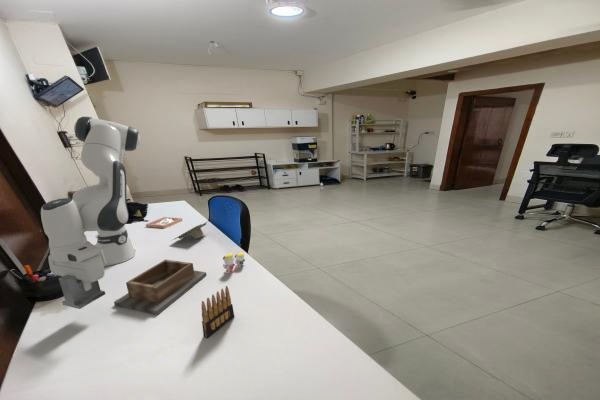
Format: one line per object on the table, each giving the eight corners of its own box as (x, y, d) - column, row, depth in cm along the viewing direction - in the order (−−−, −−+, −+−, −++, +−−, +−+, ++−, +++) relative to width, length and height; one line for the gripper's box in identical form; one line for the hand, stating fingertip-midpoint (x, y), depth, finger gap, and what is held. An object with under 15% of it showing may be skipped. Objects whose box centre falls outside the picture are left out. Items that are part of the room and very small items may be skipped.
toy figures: (241, 262, 121) (239, 246, 119) (247, 264, 118) (245, 248, 116) (220, 273, 111) (218, 256, 109) (226, 276, 109) (224, 258, 107)
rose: (174, 215, 185) (171, 219, 176) (175, 221, 186) (172, 225, 177) (160, 217, 183) (155, 221, 174) (161, 223, 184) (157, 227, 175)
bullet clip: (230, 315, 85) (226, 283, 82) (234, 317, 84) (230, 285, 81) (203, 336, 76) (197, 301, 73) (207, 338, 75) (201, 303, 72)
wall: (181, 253, 143) (201, 234, 140) (169, 240, 143) (189, 221, 141) (198, 244, 161) (216, 227, 159) (188, 233, 162) (206, 215, 159)
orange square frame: (146, 226, 177) (145, 224, 176) (164, 219, 192) (164, 216, 191) (164, 228, 172) (164, 225, 171) (182, 220, 187) (181, 218, 186)
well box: (114, 305, 92) (110, 287, 90) (169, 269, 116) (167, 254, 114) (157, 314, 86) (153, 295, 84) (206, 275, 110) (204, 259, 108)
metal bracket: (62, 304, 82) (54, 277, 80) (89, 290, 90) (82, 265, 87) (79, 309, 80) (71, 280, 77) (105, 294, 87) (98, 267, 85)
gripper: (37, 251, 80) (49, 289, 84) (81, 258, 74) (93, 299, 78) (60, 243, 86) (71, 279, 90) (103, 248, 80) (113, 287, 83)
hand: (81, 288), depth 84 cm, fingers closed on metal bracket, 4 cm apart
